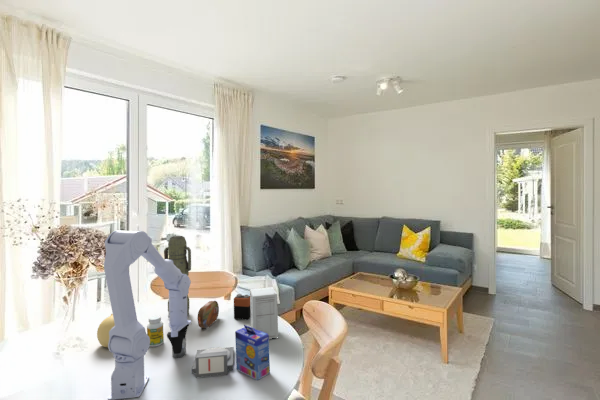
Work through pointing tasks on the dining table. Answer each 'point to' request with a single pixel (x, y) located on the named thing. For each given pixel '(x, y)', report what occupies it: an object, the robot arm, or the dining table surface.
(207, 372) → the scale
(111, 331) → the robot arm
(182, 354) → the silver metal cylinder
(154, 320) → the supplement bottle
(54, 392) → the dining table surface
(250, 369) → the ink cartridge box
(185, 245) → the thermos
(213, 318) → the tin
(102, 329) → the sculpture
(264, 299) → the white tall box
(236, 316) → the battery
